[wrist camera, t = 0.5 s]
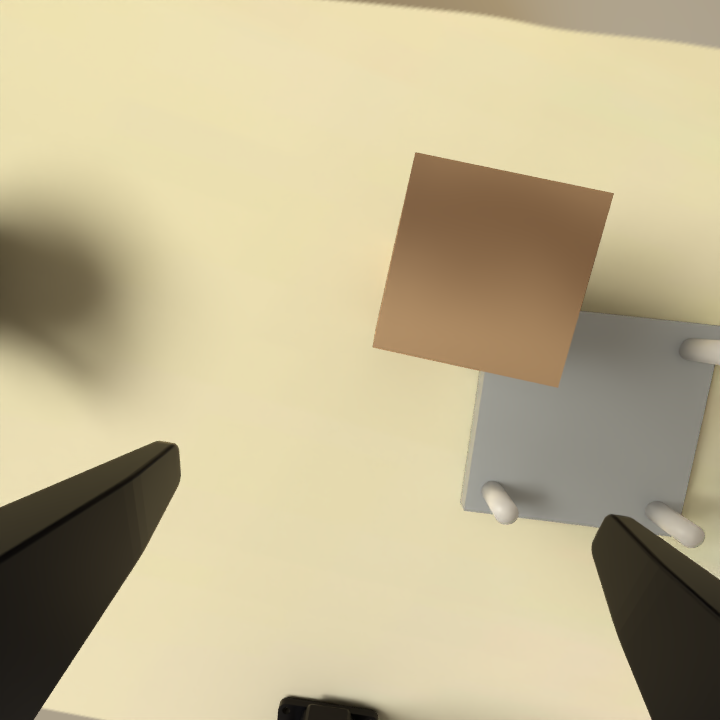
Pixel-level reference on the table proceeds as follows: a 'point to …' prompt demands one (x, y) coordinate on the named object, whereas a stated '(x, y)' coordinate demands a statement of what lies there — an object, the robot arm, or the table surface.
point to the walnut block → (490, 269)
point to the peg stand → (597, 429)
